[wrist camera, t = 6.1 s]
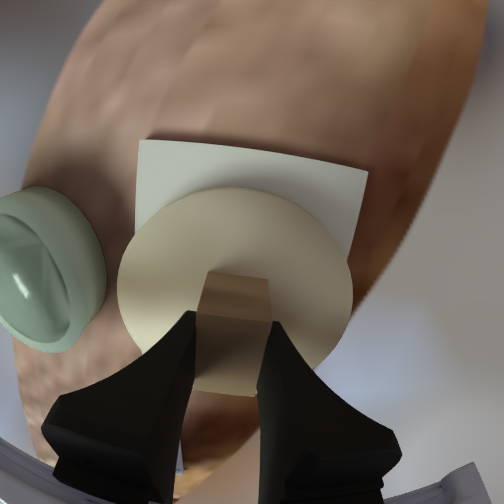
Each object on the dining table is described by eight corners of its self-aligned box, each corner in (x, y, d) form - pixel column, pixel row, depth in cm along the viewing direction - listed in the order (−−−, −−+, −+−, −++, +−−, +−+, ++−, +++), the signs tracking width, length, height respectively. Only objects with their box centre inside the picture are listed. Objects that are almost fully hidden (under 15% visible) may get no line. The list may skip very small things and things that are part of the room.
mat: (299, 389, 17) (300, 396, 17) (147, 371, 17) (145, 377, 16) (363, 170, 12) (368, 171, 12) (144, 139, 12) (139, 139, 11)
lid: (314, 387, 16) (324, 437, 12) (133, 365, 15) (113, 413, 12) (374, 210, 12) (418, 240, 8) (121, 175, 11) (73, 194, 8)
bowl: (115, 337, 16) (96, 369, 13) (15, 307, 15) (-8, 330, 12) (104, 189, 12) (71, 204, 10) (-6, 185, 12) (-38, 197, 9)
